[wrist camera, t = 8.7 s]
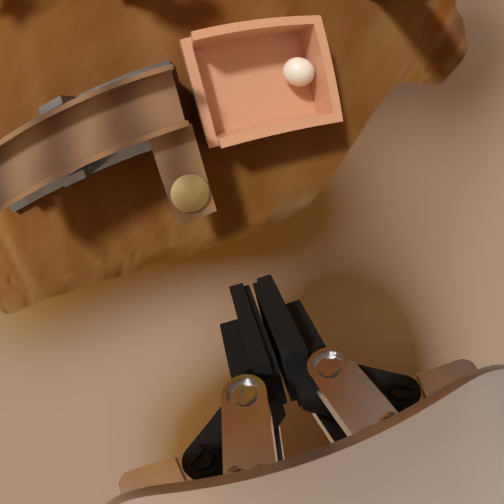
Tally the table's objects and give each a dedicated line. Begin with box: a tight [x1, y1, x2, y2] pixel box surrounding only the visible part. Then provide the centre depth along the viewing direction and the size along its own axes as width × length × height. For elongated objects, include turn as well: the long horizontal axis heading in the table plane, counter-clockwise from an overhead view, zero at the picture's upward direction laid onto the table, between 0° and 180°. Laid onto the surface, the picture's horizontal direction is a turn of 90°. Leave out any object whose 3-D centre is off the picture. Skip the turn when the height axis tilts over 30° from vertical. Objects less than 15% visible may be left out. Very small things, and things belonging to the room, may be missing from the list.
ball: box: [283, 57, 315, 86], centre depth 27 cm, size 3×3×3 cm
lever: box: [0, 64, 217, 226], centre depth 22 cm, size 22×15×4 cm, turn 103°
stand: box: [10, 60, 185, 213], centre depth 23 cm, size 24×9×8 cm, turn 103°
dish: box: [180, 15, 343, 148], centre depth 26 cm, size 14×12×5 cm
